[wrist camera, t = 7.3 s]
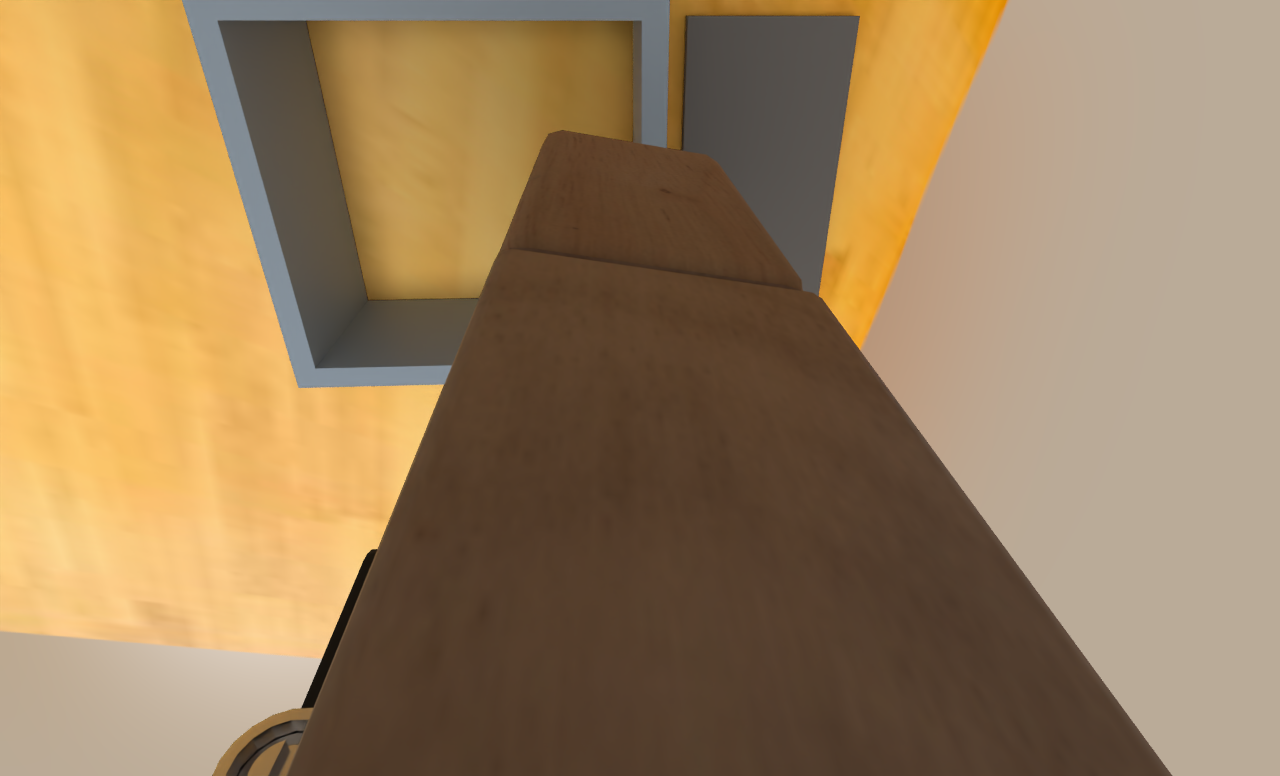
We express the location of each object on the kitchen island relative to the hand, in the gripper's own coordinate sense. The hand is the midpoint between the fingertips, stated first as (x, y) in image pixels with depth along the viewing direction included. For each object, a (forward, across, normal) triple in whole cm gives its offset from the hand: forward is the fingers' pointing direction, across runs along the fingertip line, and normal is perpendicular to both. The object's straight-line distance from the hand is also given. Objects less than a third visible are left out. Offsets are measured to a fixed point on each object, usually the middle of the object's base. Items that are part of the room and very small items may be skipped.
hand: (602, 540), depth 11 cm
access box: (+27, +6, 0) cm, 28 cm away
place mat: (+27, -8, 0) cm, 28 cm away
